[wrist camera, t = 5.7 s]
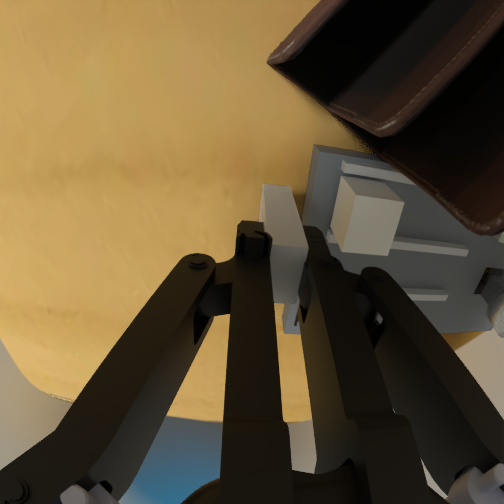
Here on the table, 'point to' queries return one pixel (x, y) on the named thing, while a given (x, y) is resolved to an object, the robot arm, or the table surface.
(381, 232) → the slider ivory
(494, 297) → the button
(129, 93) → the table surface
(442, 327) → the panel
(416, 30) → the letter holder
